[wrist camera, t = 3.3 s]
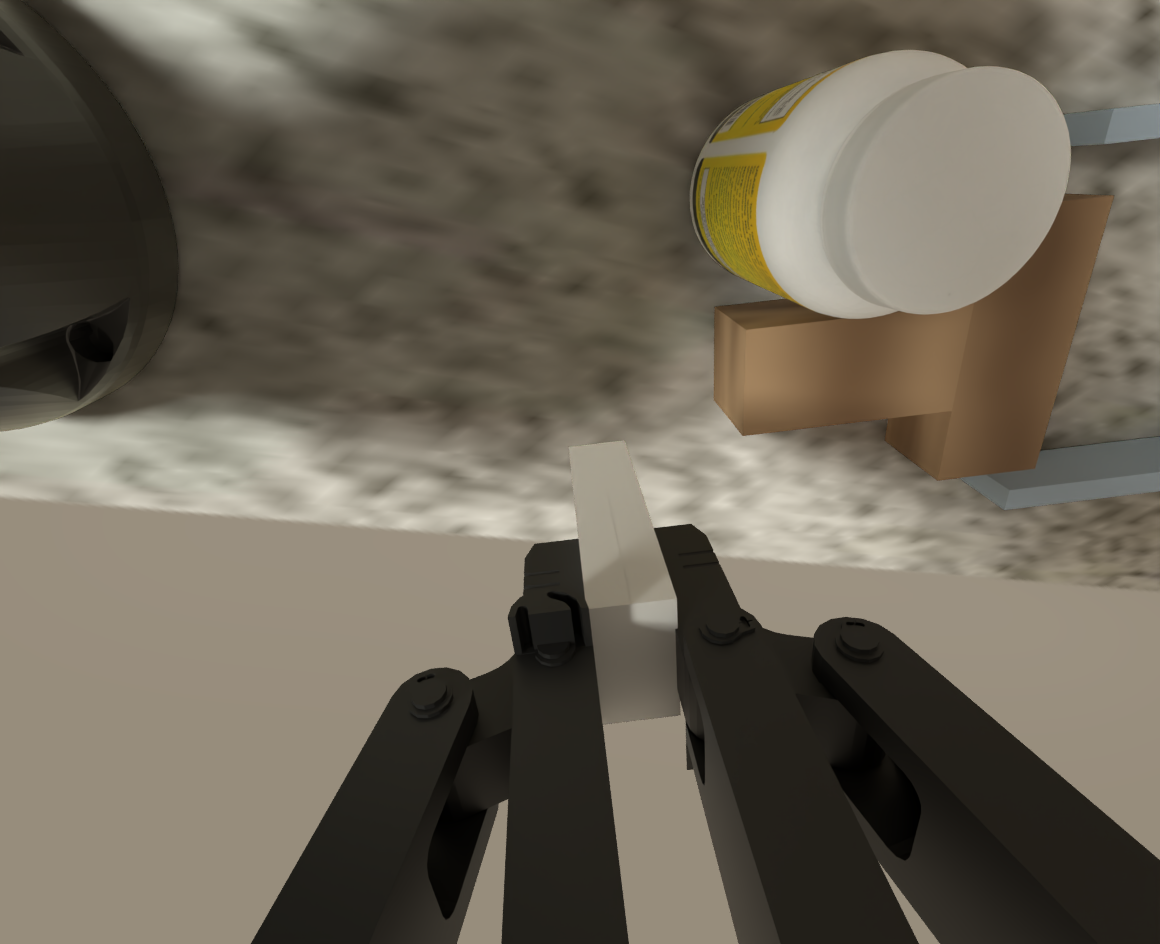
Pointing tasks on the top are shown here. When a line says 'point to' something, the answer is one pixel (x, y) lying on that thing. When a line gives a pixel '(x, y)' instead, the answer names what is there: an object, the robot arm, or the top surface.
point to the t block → (922, 361)
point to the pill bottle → (884, 185)
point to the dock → (1096, 464)
